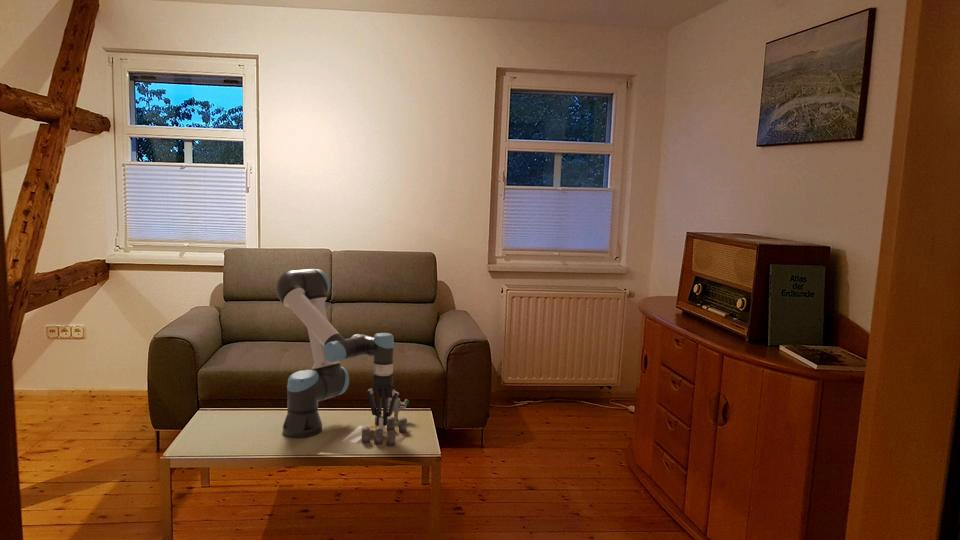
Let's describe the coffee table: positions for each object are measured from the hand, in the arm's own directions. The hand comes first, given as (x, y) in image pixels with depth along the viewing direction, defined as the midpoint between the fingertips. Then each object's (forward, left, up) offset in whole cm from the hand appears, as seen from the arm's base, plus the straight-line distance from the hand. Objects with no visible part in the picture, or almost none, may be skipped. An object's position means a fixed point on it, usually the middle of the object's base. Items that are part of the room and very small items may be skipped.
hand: (381, 433), depth 236 cm
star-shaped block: (-4, 0, -1) cm, 4 cm away
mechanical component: (-1, +19, -2) cm, 19 cm away
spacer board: (-2, 0, -2) cm, 3 cm away
